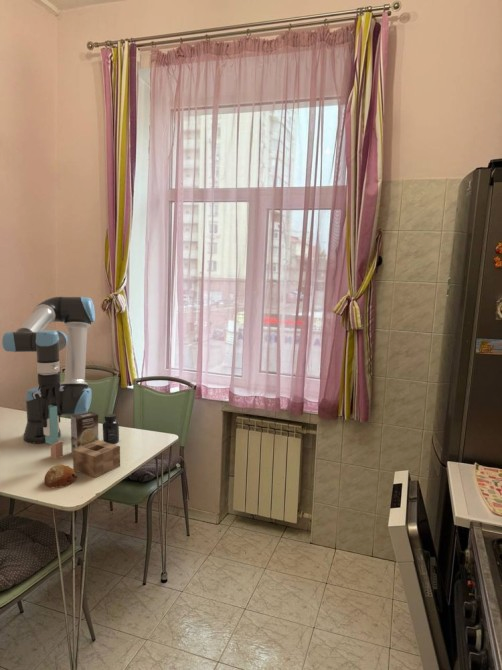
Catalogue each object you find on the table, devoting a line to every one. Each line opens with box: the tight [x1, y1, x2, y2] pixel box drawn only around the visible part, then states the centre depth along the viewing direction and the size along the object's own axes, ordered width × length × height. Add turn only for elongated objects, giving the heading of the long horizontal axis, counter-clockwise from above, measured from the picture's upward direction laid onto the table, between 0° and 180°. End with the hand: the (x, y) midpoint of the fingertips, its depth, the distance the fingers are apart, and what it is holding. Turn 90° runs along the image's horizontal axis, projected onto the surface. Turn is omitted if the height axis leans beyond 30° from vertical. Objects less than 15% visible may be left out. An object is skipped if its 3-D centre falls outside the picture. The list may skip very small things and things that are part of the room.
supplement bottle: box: [102, 413, 120, 445], centre depth 198 cm, size 7×7×12 cm
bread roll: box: [43, 463, 78, 488], centre depth 160 cm, size 10×10×8 cm
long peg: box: [45, 405, 60, 445], centre depth 169 cm, size 3×3×14 cm
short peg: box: [49, 440, 64, 460], centre depth 182 cm, size 3×3×6 cm
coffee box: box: [70, 410, 99, 454], centre depth 186 cm, size 9×6×16 cm
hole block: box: [72, 439, 121, 479], centre depth 172 cm, size 12×12×8 cm
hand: (51, 433), depth 170 cm, fingers closed on long peg, 3 cm apart
